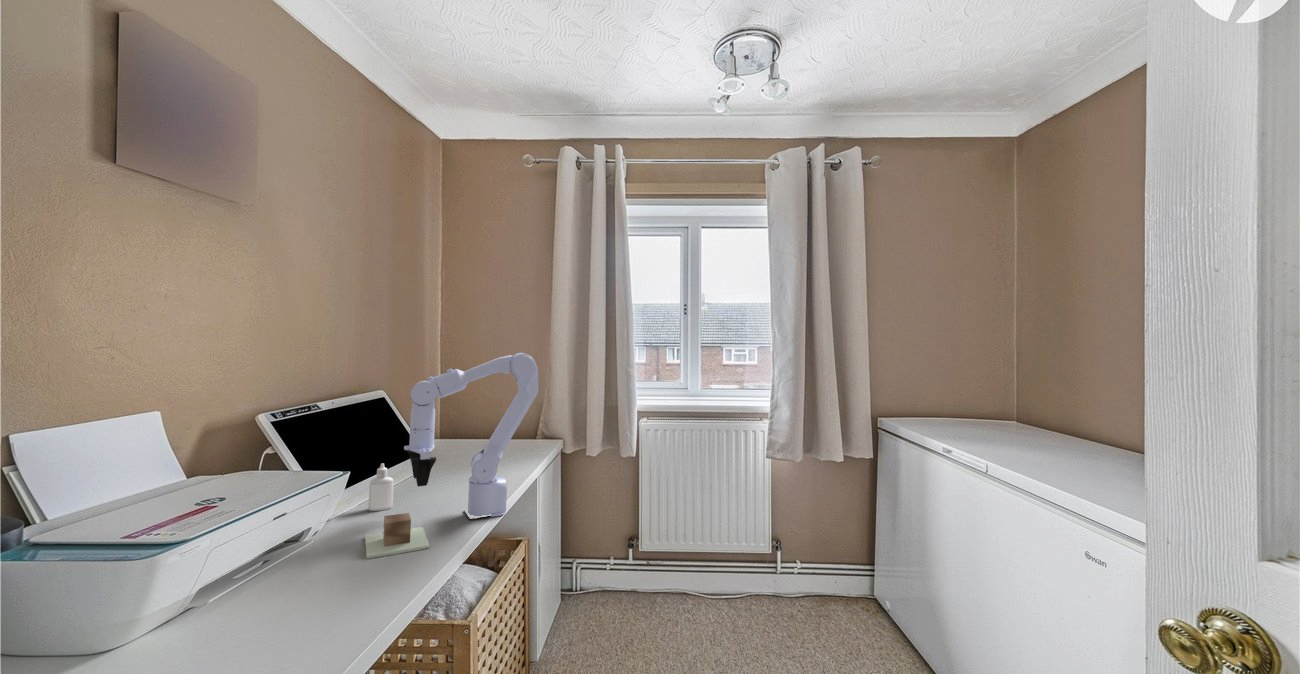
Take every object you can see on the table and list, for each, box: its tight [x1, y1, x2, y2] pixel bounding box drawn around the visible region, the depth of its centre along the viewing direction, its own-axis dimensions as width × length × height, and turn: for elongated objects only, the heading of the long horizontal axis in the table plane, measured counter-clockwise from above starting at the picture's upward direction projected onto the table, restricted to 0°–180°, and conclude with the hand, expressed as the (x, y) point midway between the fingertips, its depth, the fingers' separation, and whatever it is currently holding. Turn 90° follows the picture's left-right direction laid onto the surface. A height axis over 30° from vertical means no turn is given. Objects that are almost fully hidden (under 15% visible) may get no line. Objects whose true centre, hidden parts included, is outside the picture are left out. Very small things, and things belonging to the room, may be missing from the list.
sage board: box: [364, 526, 430, 560], centre depth 110 cm, size 12×12×1 cm
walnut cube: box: [383, 512, 412, 546], centre depth 110 cm, size 5×5×5 cm
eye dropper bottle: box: [368, 462, 394, 512], centre depth 132 cm, size 4×6×12 cm
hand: (420, 481), depth 126 cm, fingers open, 7 cm apart
